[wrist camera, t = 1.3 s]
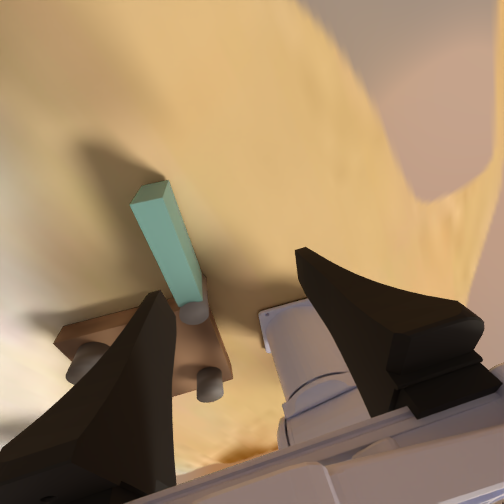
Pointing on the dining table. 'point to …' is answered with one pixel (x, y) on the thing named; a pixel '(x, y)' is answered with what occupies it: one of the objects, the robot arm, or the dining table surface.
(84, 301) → the dining table surface
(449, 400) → the robot arm
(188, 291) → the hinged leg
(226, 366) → the stool seat
